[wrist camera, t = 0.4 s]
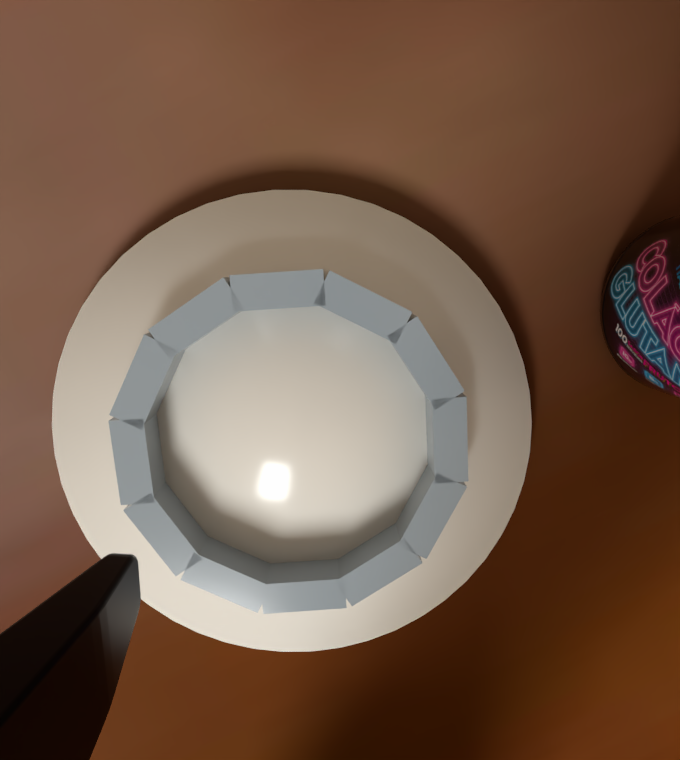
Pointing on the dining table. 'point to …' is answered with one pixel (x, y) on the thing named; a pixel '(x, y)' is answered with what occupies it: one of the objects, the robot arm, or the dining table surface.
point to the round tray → (292, 419)
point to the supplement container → (646, 308)
